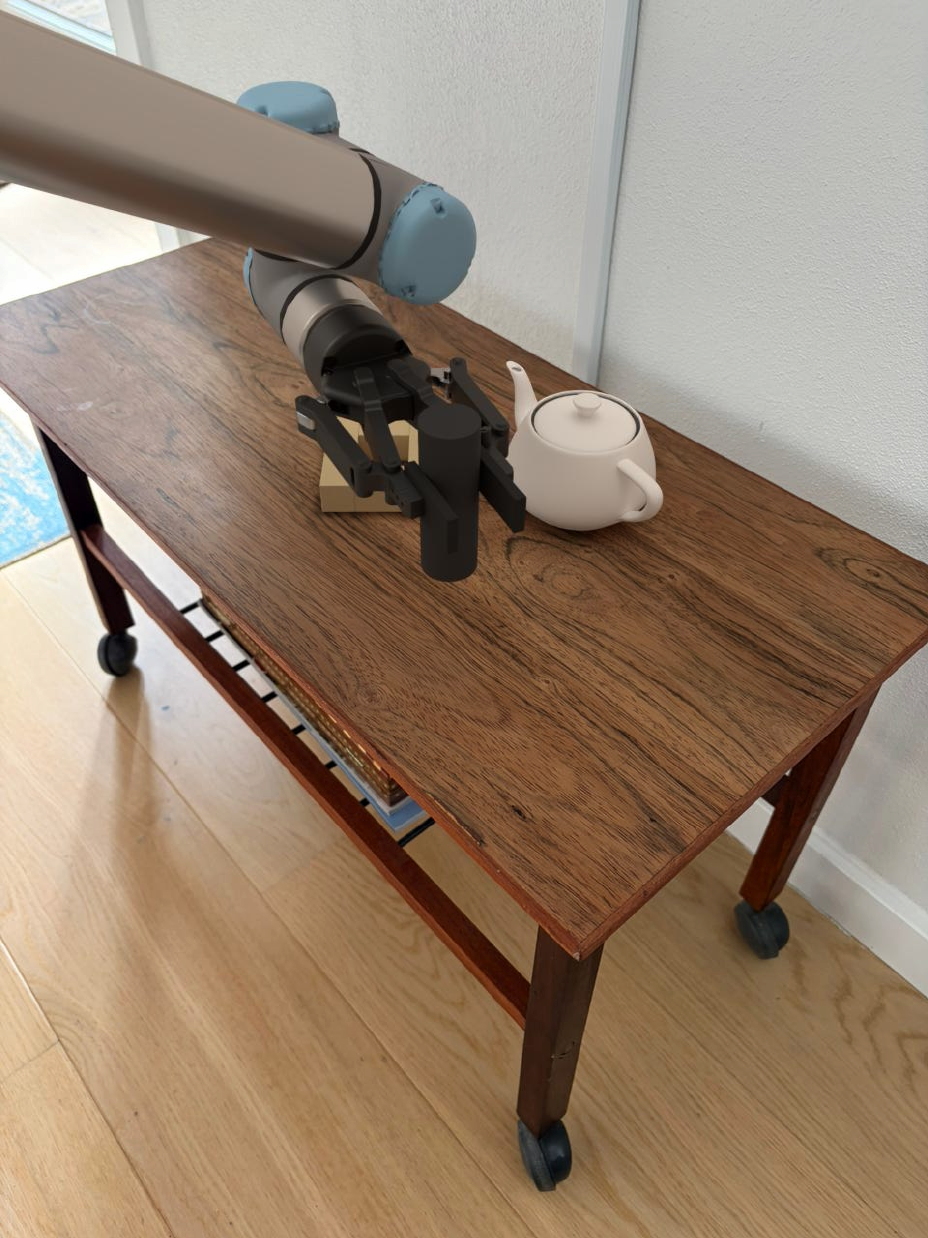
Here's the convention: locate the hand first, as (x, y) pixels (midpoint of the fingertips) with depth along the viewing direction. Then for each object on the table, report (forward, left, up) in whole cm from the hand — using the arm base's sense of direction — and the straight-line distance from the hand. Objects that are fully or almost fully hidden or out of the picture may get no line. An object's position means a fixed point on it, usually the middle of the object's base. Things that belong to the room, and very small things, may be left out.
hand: (486, 525), depth 64 cm
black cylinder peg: (-2, +5, -7) cm, 9 cm away
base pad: (-8, +29, -18) cm, 35 cm away
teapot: (+9, +26, -18) cm, 33 cm away
